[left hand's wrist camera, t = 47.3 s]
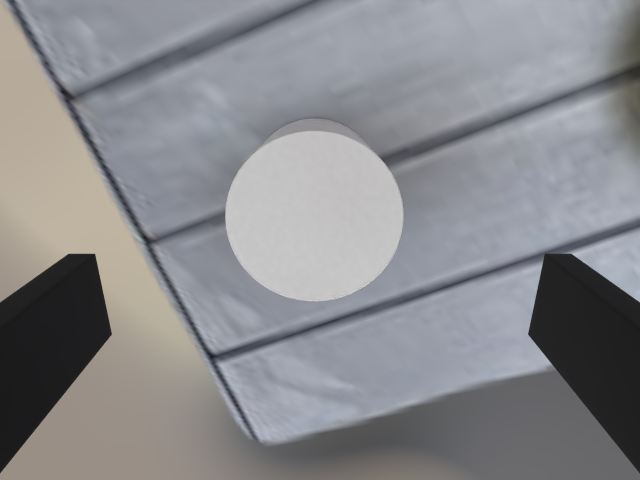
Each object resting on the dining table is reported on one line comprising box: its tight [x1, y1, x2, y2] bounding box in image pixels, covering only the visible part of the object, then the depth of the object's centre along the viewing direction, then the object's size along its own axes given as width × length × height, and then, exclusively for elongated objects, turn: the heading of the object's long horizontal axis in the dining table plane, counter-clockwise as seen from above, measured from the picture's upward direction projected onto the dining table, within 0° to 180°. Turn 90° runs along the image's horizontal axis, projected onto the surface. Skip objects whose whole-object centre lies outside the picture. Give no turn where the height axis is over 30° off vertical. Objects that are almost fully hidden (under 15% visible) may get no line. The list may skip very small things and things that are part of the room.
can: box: [225, 118, 404, 301], centre depth 25 cm, size 9×9×9 cm
